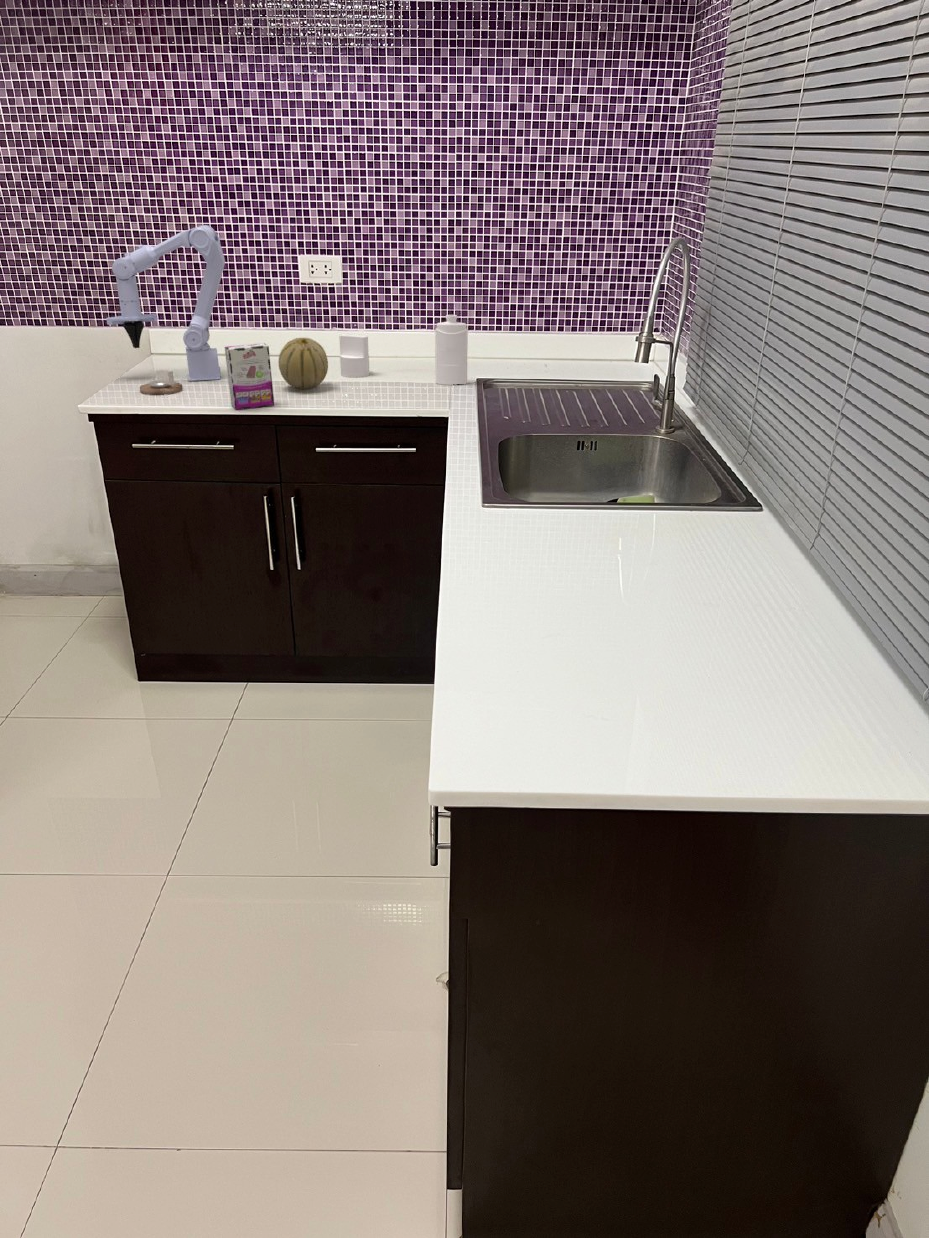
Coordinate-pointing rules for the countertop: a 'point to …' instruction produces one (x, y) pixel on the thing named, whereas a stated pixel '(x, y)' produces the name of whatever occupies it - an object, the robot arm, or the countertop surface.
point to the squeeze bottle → (451, 352)
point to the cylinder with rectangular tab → (354, 356)
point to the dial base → (161, 389)
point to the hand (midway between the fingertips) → (136, 347)
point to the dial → (163, 379)
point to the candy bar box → (249, 376)
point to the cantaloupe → (303, 363)
